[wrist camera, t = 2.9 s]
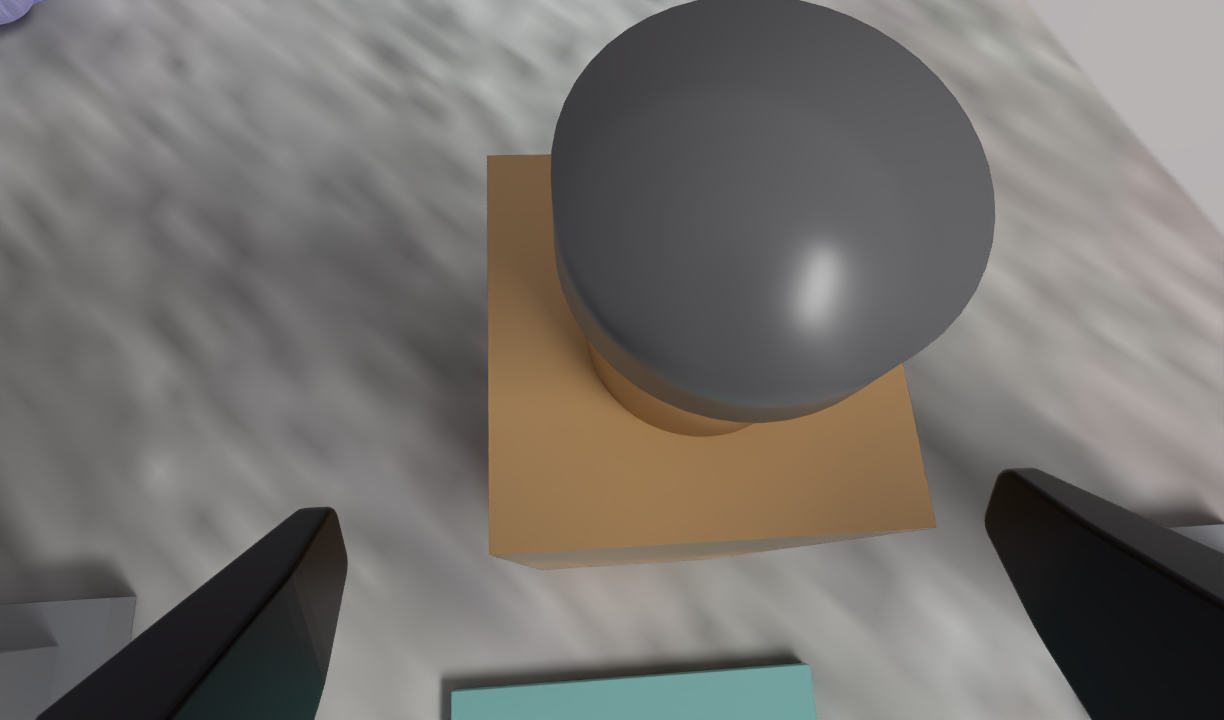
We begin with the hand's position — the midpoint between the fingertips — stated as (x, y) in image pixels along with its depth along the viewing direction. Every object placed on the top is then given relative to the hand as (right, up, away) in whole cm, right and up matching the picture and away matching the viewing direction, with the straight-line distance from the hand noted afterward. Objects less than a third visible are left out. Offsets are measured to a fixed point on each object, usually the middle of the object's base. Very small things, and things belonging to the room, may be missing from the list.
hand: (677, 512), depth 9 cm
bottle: (-1, -1, +10) cm, 10 cm away
